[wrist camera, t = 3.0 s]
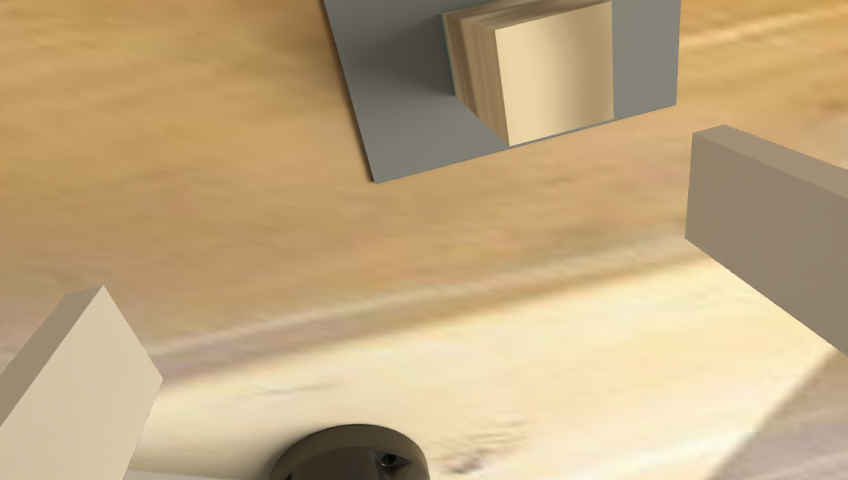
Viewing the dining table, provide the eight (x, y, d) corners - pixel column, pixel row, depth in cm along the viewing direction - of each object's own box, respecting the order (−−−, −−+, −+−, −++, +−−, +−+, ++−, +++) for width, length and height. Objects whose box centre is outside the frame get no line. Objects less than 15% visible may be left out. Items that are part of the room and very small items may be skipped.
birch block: (454, 96, 32) (509, 146, 22) (440, 13, 30) (494, 30, 20) (528, 77, 32) (613, 118, 23) (520, -7, 30) (611, 1, 20)
